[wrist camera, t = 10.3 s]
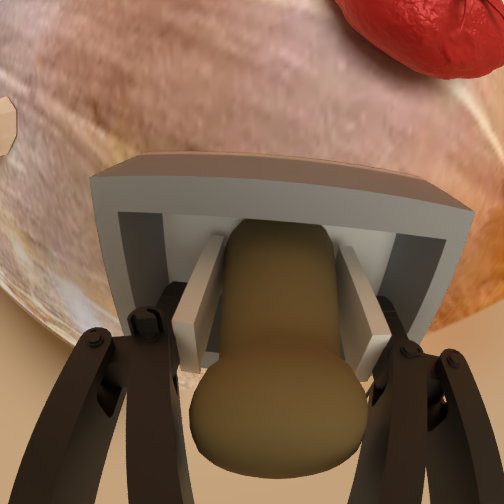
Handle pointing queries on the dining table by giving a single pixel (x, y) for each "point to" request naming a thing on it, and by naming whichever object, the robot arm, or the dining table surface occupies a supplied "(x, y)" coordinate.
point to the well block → (277, 209)
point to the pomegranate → (433, 33)
